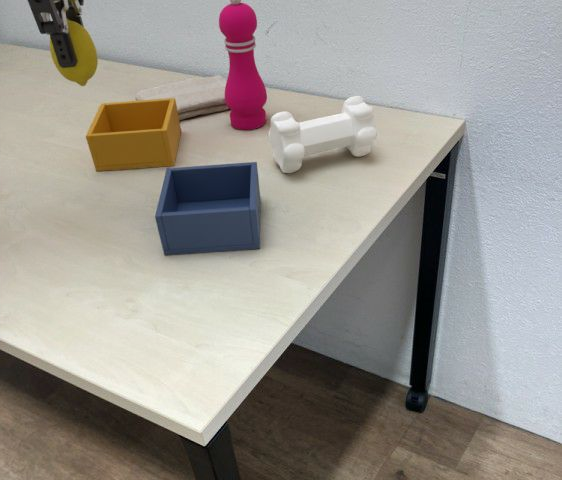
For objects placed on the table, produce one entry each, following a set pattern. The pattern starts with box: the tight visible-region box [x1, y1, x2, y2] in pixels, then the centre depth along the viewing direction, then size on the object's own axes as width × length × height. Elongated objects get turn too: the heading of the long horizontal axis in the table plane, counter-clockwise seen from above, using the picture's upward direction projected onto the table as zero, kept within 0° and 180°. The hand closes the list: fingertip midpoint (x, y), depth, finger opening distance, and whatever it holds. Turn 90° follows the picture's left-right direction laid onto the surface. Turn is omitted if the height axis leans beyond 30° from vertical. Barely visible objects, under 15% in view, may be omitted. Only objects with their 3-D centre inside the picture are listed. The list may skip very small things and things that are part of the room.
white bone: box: [268, 95, 378, 174], centre depth 92 cm, size 15×9×8 cm, turn 110°
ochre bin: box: [85, 98, 182, 172], centre depth 100 cm, size 13×13×6 cm
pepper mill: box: [218, 0, 268, 131], centre depth 100 cm, size 7×7×20 cm
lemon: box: [49, 18, 99, 87], centre depth 77 cm, size 6×6×8 cm
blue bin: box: [154, 161, 262, 256], centre depth 82 cm, size 13×13×6 cm
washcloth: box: [135, 74, 230, 121], centre depth 112 cm, size 12×18×3 cm, turn 113°
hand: (74, 57), depth 77 cm, fingers closed on lemon, 5 cm apart
